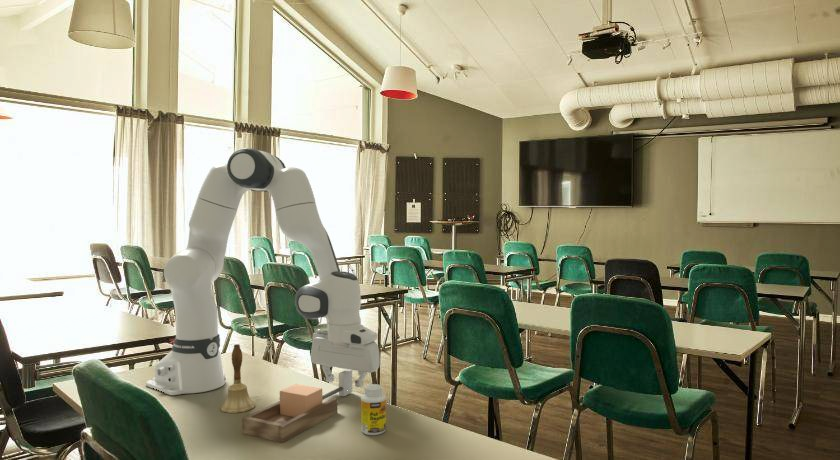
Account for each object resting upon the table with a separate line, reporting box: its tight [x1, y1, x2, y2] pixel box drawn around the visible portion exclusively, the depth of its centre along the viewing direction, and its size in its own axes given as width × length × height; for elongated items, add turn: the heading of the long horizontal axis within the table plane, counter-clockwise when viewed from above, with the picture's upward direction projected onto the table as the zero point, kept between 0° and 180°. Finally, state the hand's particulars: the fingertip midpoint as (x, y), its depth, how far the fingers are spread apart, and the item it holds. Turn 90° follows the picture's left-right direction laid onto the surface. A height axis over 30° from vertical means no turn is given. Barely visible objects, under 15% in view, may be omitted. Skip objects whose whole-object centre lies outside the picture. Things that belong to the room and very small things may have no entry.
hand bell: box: [220, 343, 256, 414], centre depth 146 cm, size 8×8×16 cm
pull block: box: [279, 369, 353, 417], centre depth 147 cm, size 8×24×6 cm, turn 153°
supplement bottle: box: [360, 383, 387, 436], centre depth 130 cm, size 6×6×10 cm
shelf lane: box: [241, 397, 338, 444], centre depth 136 cm, size 12×20×4 cm, turn 153°
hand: (344, 383), depth 155 cm, fingers open, 8 cm apart
